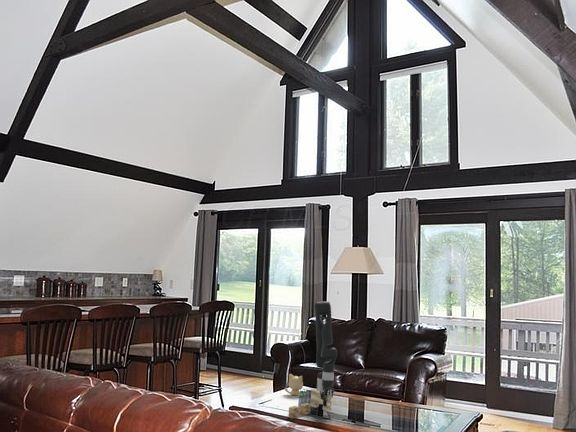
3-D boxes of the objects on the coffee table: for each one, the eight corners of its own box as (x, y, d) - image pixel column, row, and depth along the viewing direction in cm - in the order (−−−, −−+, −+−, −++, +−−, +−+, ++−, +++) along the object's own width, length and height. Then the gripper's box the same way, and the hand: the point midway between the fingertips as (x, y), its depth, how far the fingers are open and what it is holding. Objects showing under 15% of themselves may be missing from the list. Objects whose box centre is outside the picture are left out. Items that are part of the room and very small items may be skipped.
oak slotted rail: (305, 412, 337) (306, 402, 338) (310, 413, 335) (310, 404, 335) (288, 417, 323) (289, 407, 324) (292, 418, 321) (293, 408, 322)
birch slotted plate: (313, 405, 344) (314, 389, 345) (331, 410, 335) (331, 394, 336) (310, 406, 341) (311, 390, 342) (328, 411, 332) (328, 395, 333)
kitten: (307, 395, 383) (308, 374, 385) (302, 398, 374) (303, 377, 376) (289, 392, 389) (290, 372, 391) (283, 394, 380) (285, 374, 382)
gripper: (329, 376, 345) (327, 402, 343) (317, 379, 334) (315, 406, 332) (338, 378, 340) (337, 404, 339) (326, 381, 329) (325, 408, 328)
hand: (326, 405), depth 335 cm, fingers closed on birch slotted plate, 3 cm apart
